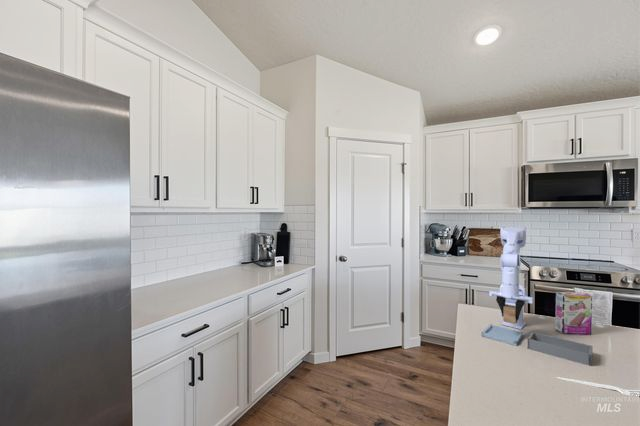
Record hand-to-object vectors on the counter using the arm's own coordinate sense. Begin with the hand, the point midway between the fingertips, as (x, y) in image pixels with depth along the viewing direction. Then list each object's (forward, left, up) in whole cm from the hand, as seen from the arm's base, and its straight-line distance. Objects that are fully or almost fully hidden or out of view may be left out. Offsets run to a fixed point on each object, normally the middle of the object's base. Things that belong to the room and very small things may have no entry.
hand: (510, 317), depth 116 cm
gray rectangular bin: (+1, +15, -8) cm, 17 cm away
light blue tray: (0, -3, -8) cm, 9 cm away
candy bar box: (-25, +17, -9) cm, 32 cm away
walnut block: (0, 0, -2) cm, 2 cm away
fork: (+19, +26, -9) cm, 34 cm away
